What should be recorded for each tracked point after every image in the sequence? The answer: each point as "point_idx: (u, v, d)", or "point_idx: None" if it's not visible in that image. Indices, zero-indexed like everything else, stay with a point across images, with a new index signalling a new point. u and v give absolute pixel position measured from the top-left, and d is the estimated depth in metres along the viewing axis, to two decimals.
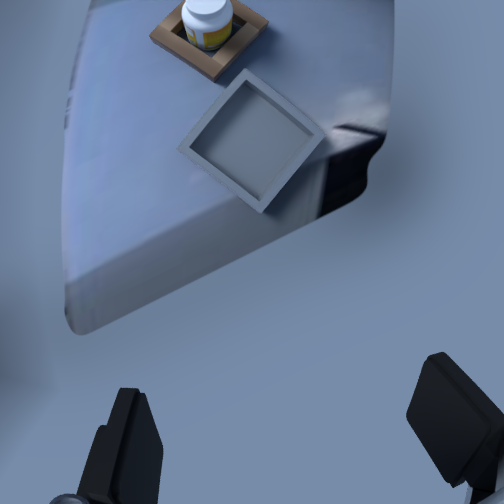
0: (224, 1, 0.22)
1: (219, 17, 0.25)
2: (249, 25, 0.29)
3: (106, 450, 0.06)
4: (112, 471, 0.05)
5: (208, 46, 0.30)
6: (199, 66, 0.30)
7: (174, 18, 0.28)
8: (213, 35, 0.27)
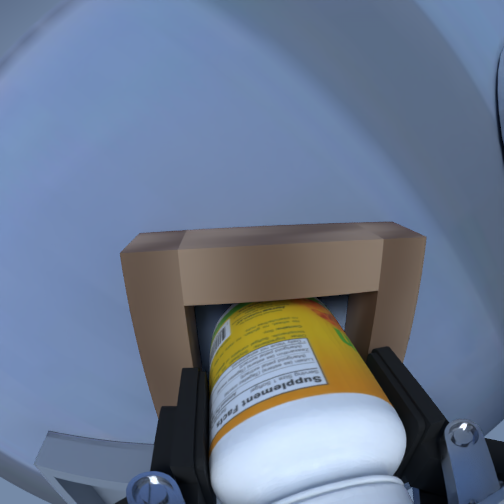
0: None
1: None
2: None
3: (182, 424, 0.07)
4: (193, 442, 0.06)
5: None
6: None
7: (237, 278, 0.09)
8: None
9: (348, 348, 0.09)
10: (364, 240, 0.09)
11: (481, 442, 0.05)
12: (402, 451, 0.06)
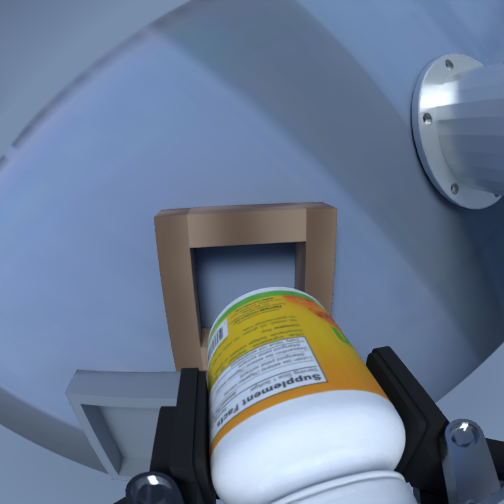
0: None
1: None
2: None
3: (181, 425, 0.07)
4: (192, 443, 0.06)
5: None
6: (173, 343, 0.18)
7: (220, 231, 0.17)
8: None
9: (346, 346, 0.09)
10: (293, 209, 0.17)
11: (482, 442, 0.05)
12: (402, 447, 0.06)
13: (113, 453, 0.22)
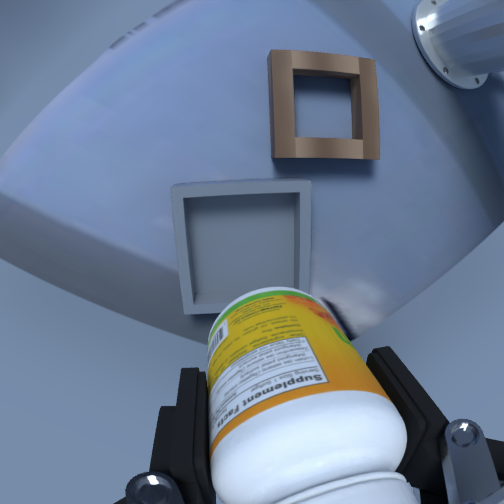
0: None
1: None
2: (360, 144, 0.26)
3: (181, 425, 0.07)
4: (192, 443, 0.06)
5: None
6: (276, 132, 0.25)
7: (310, 61, 0.24)
8: None
9: (347, 346, 0.09)
10: (351, 56, 0.24)
11: (482, 442, 0.05)
12: (403, 448, 0.06)
13: (192, 278, 0.30)
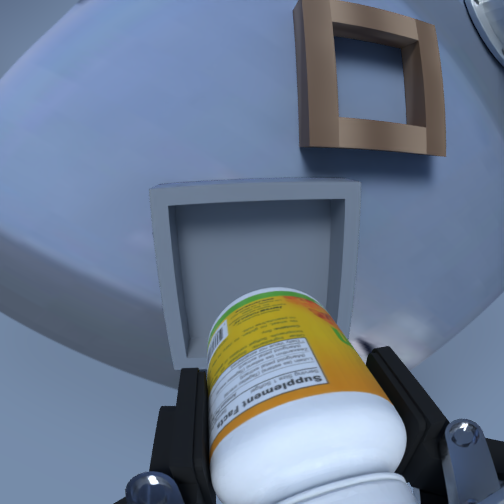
0: None
1: None
2: (423, 134, 0.17)
3: (181, 425, 0.07)
4: (192, 443, 0.06)
5: None
6: (310, 108, 0.16)
7: (355, 15, 0.14)
8: None
9: (346, 347, 0.09)
10: (406, 16, 0.14)
11: (482, 442, 0.05)
12: (403, 448, 0.06)
13: (184, 320, 0.20)
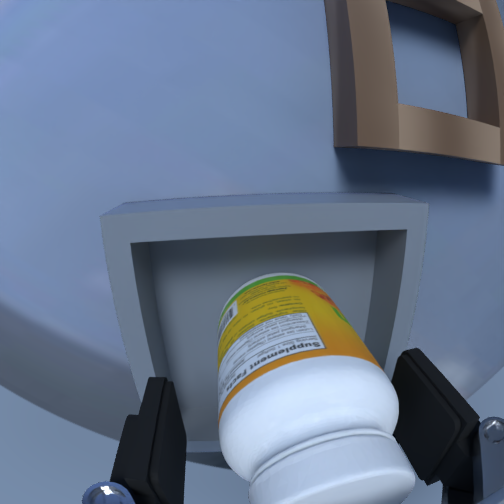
0: None
1: None
2: (497, 136, 0.11)
3: (141, 436, 0.06)
4: (150, 456, 0.06)
5: None
6: (358, 87, 0.10)
7: None
8: None
9: (344, 323, 0.10)
10: None
11: None
12: (395, 415, 0.07)
13: None
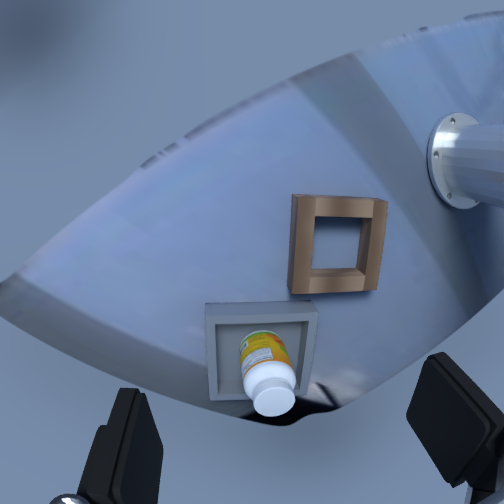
0: (281, 413, 0.28)
1: None
2: (362, 279, 0.33)
3: (106, 450, 0.06)
4: (113, 471, 0.05)
5: None
6: (294, 274, 0.32)
7: (331, 208, 0.30)
8: None
9: (282, 351, 0.32)
10: (367, 200, 0.30)
11: None
12: (293, 379, 0.29)
13: None
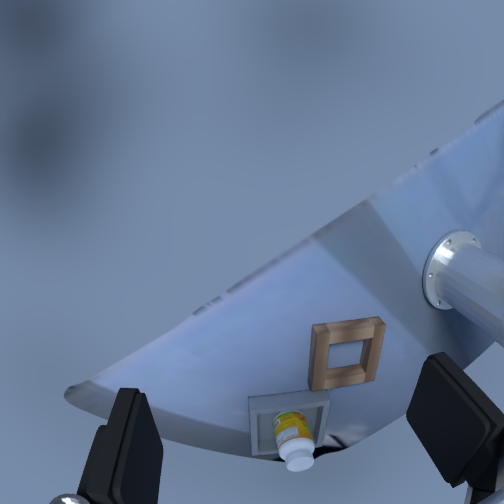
0: (305, 469, 0.37)
1: None
2: (363, 376, 0.42)
3: (106, 450, 0.06)
4: (112, 471, 0.05)
5: None
6: (313, 380, 0.41)
7: (342, 337, 0.39)
8: None
9: (304, 427, 0.41)
10: (370, 327, 0.39)
11: None
12: (312, 447, 0.38)
13: None
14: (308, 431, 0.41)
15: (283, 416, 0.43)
